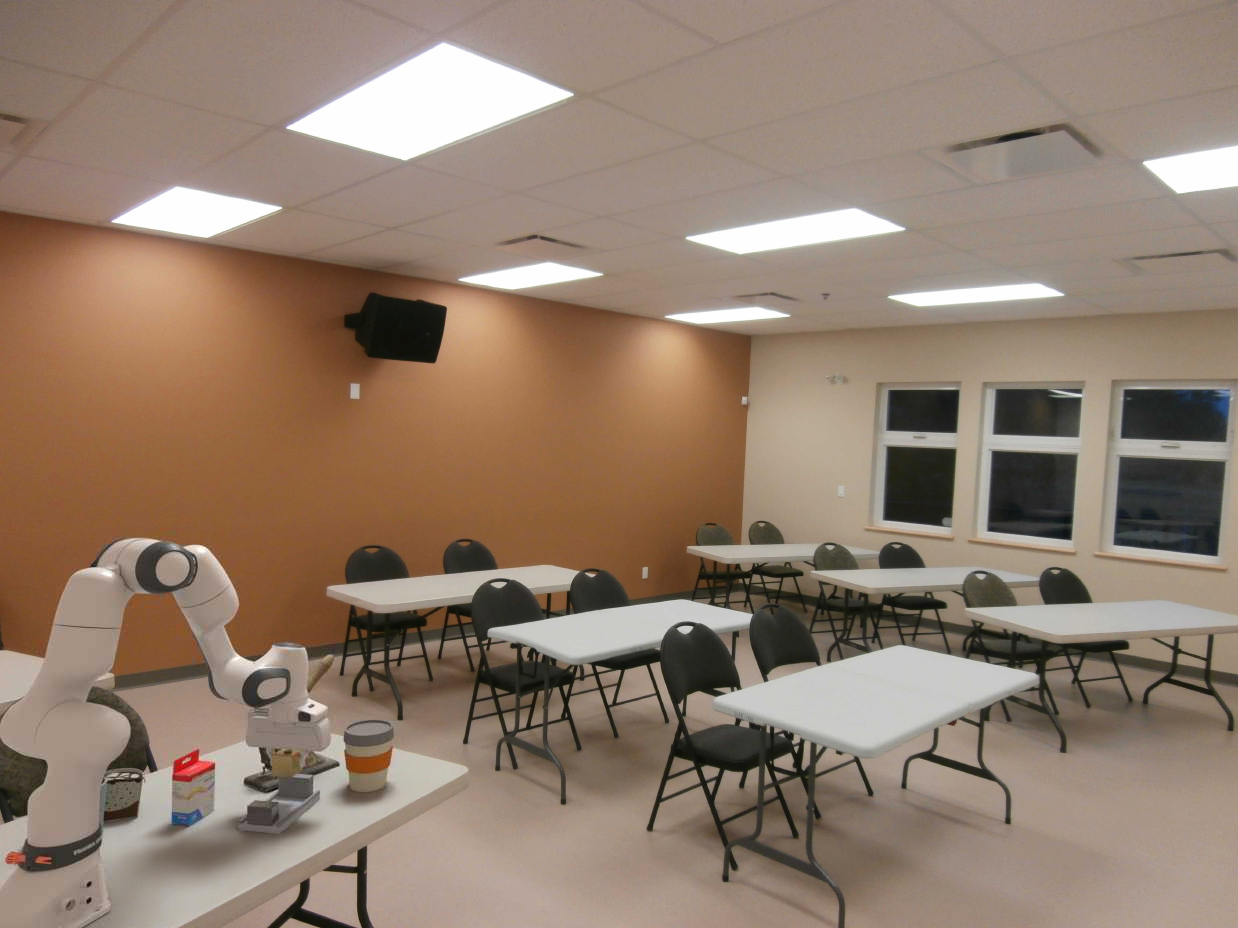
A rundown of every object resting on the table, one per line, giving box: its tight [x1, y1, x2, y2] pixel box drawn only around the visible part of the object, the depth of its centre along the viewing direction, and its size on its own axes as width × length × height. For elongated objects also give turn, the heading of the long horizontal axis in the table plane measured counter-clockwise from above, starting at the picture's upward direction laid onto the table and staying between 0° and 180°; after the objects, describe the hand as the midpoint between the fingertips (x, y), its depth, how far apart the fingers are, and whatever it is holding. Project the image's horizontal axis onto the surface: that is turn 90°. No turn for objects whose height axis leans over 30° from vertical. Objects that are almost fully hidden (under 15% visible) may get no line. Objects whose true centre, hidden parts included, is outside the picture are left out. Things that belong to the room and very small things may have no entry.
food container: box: [103, 767, 147, 823], centre depth 184 cm, size 12×6×10 cm, turn 113°
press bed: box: [238, 774, 321, 835], centre depth 186 cm, size 18×10×6 cm, turn 173°
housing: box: [272, 749, 303, 778], centre depth 189 cm, size 5×5×5 cm
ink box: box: [171, 748, 216, 827], centre depth 184 cm, size 8×5×15 cm, turn 168°
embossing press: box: [243, 653, 341, 792], centre depth 209 cm, size 11×24×30 cm, turn 145°
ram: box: [246, 799, 279, 826], centre depth 180 cm, size 4×6×4 cm
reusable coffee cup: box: [342, 718, 395, 793], centre depth 204 cm, size 12×12×15 cm
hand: (287, 765), depth 189 cm, fingers closed on housing, 5 cm apart
